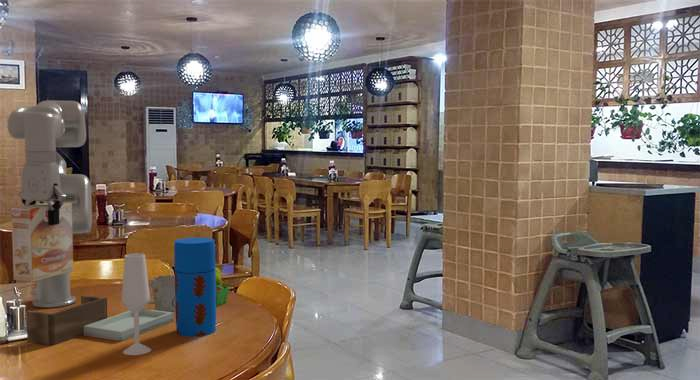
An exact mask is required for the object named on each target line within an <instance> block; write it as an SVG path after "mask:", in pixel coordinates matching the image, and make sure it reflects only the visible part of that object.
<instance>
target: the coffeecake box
mask: <svg viewBox="0 0 700 380" xmlns="http://www.w3.org/2000/svg"><path fill="white" fill-rule="evenodd" d="M52 203H53V204H54V202H52ZM72 204H73V203H63V204H62V206H61V209H60V210H59V224H56V225H49V224H48V210H50V209H49V206H48V204H47V203H44V202H43V203H37V204H35V205H27V206H25V205H19V206H13V207H10V209H11V210H10V212H11V236H12V237H11V239H12V241H11V242H12V264H13V265H12V266H13V268H12V270H13V272H12V273H13V280H14V281H23V282H31V283H34V282H37V281H38V280H42V279H46V278H49V277H53V276H57V275H61V274H65V273H69V272H70V273H72V272H74V246H73V245H74V244H73V242H74V241H73V240H74V238H73V237H74V236H73V235H74V234H73V233H72Z"/></svg>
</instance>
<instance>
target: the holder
mask: <svg viewBox="0 0 700 380" xmlns="http://www.w3.org/2000/svg"><path fill="white" fill-rule="evenodd" d="M80 302H81V303H80V304H78V305H75V306H71V307H68V308H65V309H62V310H58V311H55V312H51V313H50V312H49V313H48V312H42V311H36V310H35V311H34V310H26V311H25V312H26V313H25V315H26V336H27V337H26V338H27V340H26V341H27V343H32V344H38V345H45V346H50V347H52V346H55V345H58V344H60V343H61V344H62V343H64V342H67V341H70V340H73V339H75V338H76V339H77V338H78V337H80V336H85V335H84V326H85V325H88V324H91V323H94V322H97V321H100V320H103V319H106V318H108V304H107V303H108V298H107V297H101V296H92V295H80Z"/></svg>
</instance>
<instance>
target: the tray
mask: <svg viewBox="0 0 700 380" xmlns="http://www.w3.org/2000/svg"><path fill="white" fill-rule="evenodd" d="M171 322H172V323H173V322H174V311H173V312H165V311H157V310H156V309H150V308H149V309H148V308H143V309H142V310H141V311H140V312H139V335H141V334H145V333H147V332H150V331H151V330H155V329H157V328H159V327H162V326H165V325H167V324H170V323H171ZM83 336H87V337H93V338H99V339H106V340H111V341H112V340H113V341H118V342H123V341H126V340H128V339H132V338H134V313H133V312H131V311H130V310H128V311H125V312H121V313H118V314H116V315H113V316H110V317H107V318H106V319H103V320H100V321H97V322H94V323H91V324H88V325H85V326H84V335H83Z"/></svg>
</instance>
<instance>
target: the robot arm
mask: <svg viewBox="0 0 700 380" xmlns="http://www.w3.org/2000/svg"><path fill="white" fill-rule="evenodd" d="M7 131H8V134H9V135H10V137H11V138H13V139H14V140H24V154H25V155H24V159H25V163H23V165H22V166H23V167H22V172H21V181H20V182H21V188H20V191H19V192H18V196H19V198H20V199H21V202H22V204H23V206H27V205H35V204H38V202H42V203H43V204H44V203H47V204H48V206H49V209H50V210H48V224H49V225H56V224H59V210H60V209H61V206H62V204H63V203H72V233H73V235H75V234H83V233H88V232H89V231H90V230H91V229H92V224H93V211H92V210H93V209H92V208H93V207H92V204H93V203H92V186H91V181H90V179H89V178H88V176H86V175H85V174H81V173H80V174H79V173H73V174H72V173H67V162H66V161H65V159H64V157H62V155H61V154H59V152H57V149H56V148H80V147H82V146H84V144H85V143H86V141H87V127H86V116H85V112H84V108H83V106H82V105H81V104H80V102H79V101H77V100H76V101H75V100H54V99H53V100H50V99H48V100H43V101H42V100H41V101H40V102H38V103H37V104H36V105H34V106H28V107H21V108H16V109H13V110H12V111H11V112H10V114H9V116H8V119H7ZM52 202H54V204H53V203H52ZM70 273H71V272H69V273H65V274H61V275H57V276H53V277H49V278H46V279H42V280H38V281H36V285H37V287H35V288H34V290H31V292H30V295H32V296H35V299H34V300H32V306H34V307H36V308H46V309H47V308H59V307H64V306H69V305H72V304H74V303H75V302H76V301H77V298H76V296H74V295H71V274H70Z"/></svg>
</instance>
